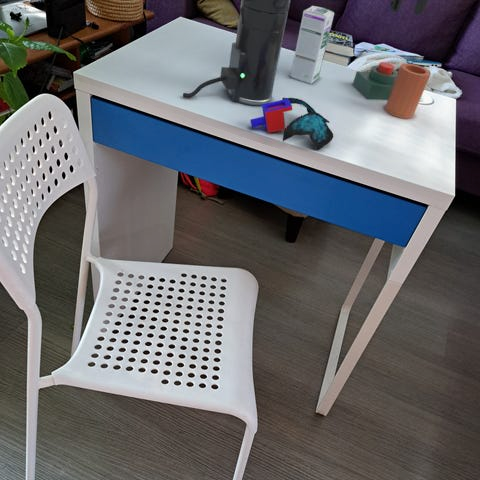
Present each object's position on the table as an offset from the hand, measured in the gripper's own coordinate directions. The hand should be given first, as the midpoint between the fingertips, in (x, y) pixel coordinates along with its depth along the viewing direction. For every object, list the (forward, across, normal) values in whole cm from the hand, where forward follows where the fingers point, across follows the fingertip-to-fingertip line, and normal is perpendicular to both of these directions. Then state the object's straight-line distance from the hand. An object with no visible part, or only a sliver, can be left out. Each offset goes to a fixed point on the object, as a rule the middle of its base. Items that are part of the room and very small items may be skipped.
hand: (405, 12), depth 110 cm
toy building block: (+14, +32, +20) cm, 40 cm away
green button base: (+17, 0, 0) cm, 17 cm away
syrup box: (+18, +17, -7) cm, 26 cm away
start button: (+13, 0, 0) cm, 13 cm away
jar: (+17, 0, +11) cm, 20 cm away
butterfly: (+17, +24, +23) cm, 38 cm away
